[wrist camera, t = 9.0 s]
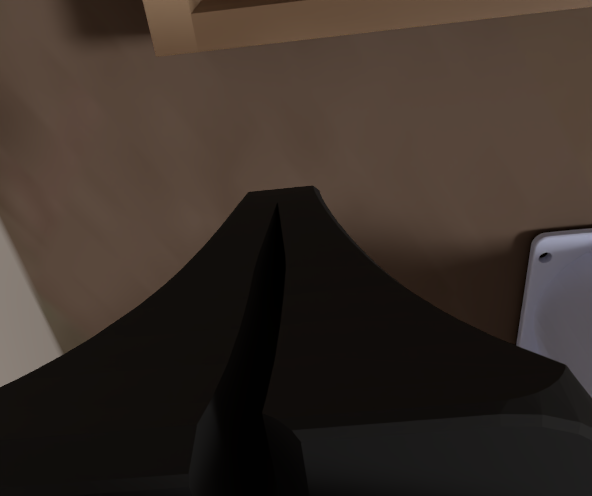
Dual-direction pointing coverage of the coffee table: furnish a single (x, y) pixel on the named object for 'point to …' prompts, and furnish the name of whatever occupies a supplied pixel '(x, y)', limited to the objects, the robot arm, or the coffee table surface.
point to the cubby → (312, 19)
